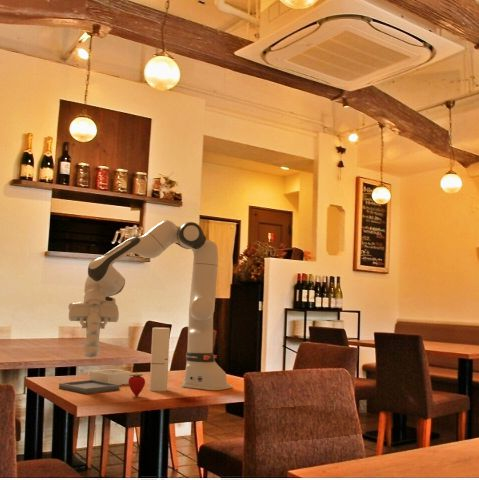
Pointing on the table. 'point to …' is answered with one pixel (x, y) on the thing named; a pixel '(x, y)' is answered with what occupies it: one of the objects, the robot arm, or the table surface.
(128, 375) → the collar holder
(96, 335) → the plastic bottle
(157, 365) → the white toy refrigerator
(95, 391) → the grey tray
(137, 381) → the strawberry
